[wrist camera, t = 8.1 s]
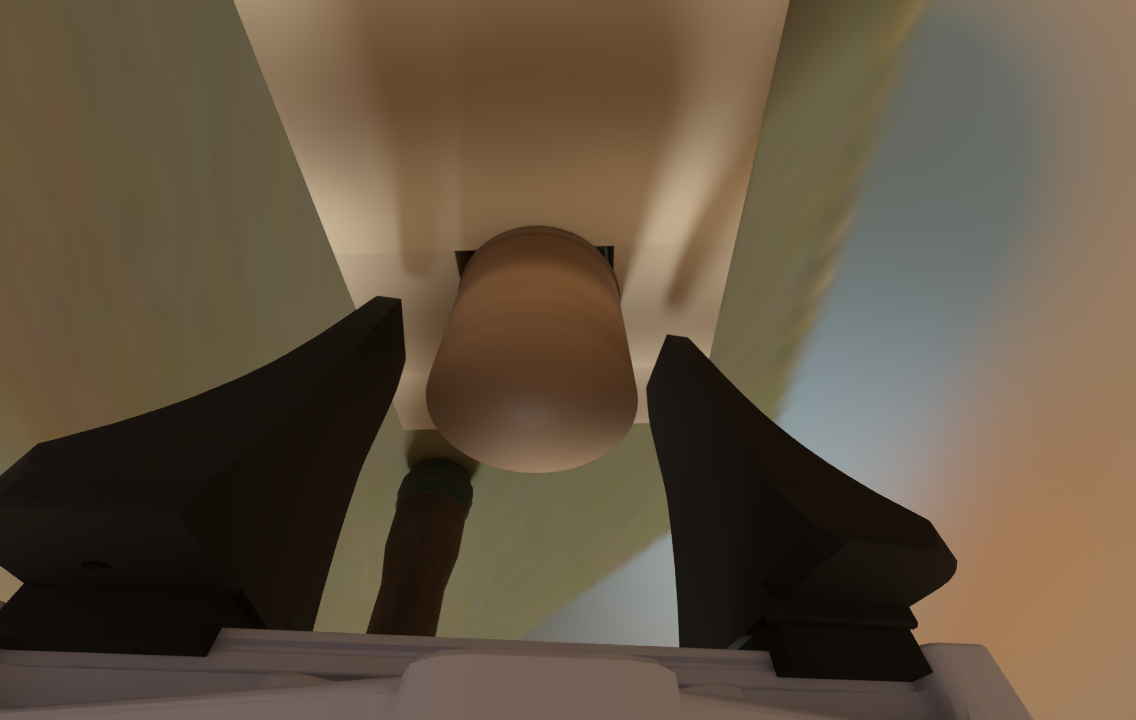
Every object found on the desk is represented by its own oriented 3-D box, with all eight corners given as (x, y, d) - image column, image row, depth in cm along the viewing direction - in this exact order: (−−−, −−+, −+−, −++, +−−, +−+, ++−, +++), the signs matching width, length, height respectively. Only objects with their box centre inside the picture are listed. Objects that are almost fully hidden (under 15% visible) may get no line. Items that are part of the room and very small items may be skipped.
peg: (451, 210, 14) (382, 346, 8) (597, 175, 13) (623, 298, 8) (499, 328, 17) (470, 485, 11) (621, 304, 16) (651, 458, 11)
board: (233, -218, 9) (117, -294, 7) (783, -241, 9) (863, -326, 6) (423, 377, 19) (403, 430, 17) (678, 369, 19) (694, 421, 17)
